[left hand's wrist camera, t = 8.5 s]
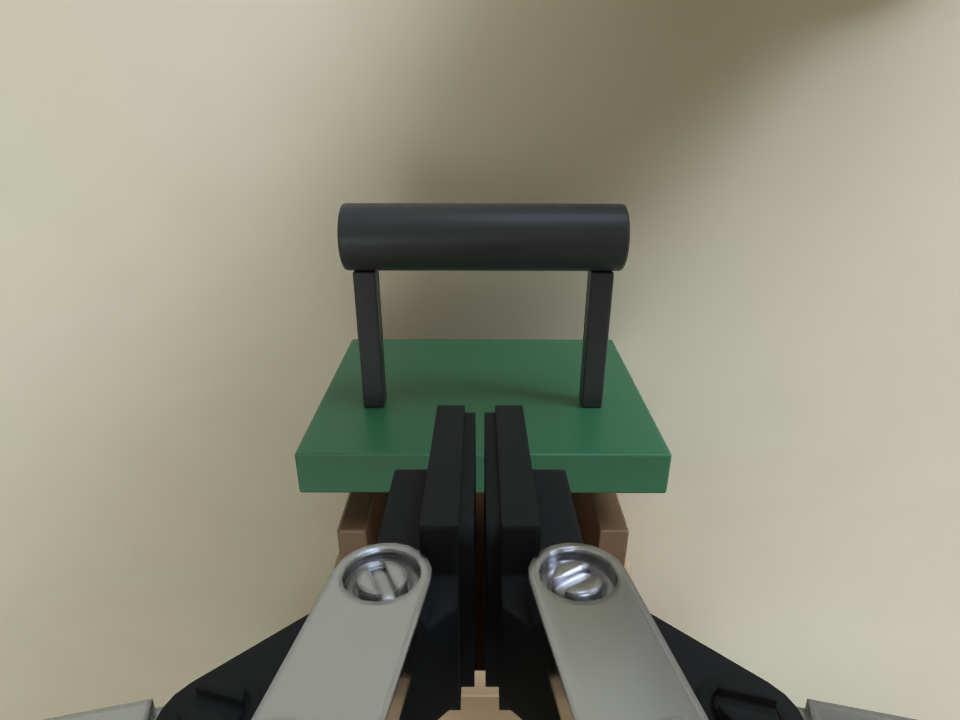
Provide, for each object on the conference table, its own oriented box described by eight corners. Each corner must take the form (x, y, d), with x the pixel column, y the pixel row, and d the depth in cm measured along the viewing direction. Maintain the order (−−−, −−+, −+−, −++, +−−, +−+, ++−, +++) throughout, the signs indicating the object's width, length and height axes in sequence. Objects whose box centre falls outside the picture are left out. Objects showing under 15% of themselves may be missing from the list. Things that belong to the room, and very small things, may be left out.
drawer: (338, 177, 21) (263, 225, 14) (627, 177, 21) (706, 226, 14) (373, 585, 28) (335, 761, 21) (589, 586, 28) (627, 762, 21)
